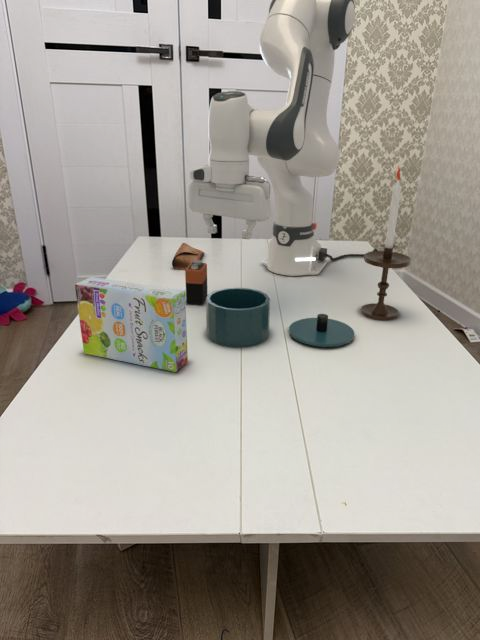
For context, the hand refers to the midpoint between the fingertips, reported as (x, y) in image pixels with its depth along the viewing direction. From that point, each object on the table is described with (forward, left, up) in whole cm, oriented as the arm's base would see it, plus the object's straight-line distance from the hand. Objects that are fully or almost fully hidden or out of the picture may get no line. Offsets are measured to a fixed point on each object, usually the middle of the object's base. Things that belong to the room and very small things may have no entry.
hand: (229, 235), depth 118 cm
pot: (+12, +10, -18) cm, 24 cm away
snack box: (+33, -1, -19) cm, 37 cm away
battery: (0, -10, -19) cm, 21 cm away
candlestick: (-18, +33, -19) cm, 42 cm away
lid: (+2, +26, -18) cm, 31 cm away
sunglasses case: (-27, -33, -19) cm, 47 cm away
